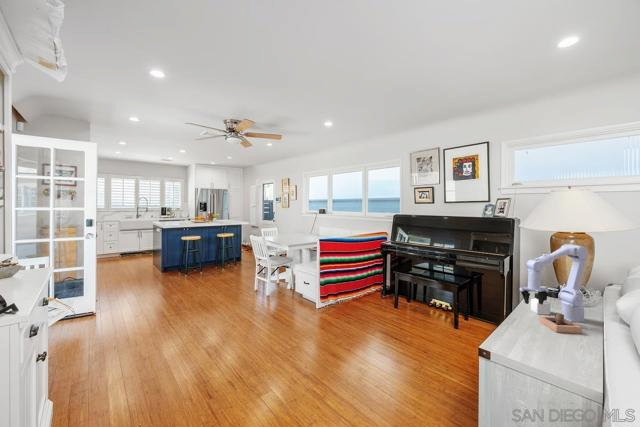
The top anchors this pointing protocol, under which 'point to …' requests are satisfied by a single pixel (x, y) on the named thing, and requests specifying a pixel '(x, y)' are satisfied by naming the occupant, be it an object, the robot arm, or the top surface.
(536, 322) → the top surface
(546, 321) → the orange square tray
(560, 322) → the wick peg
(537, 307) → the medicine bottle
